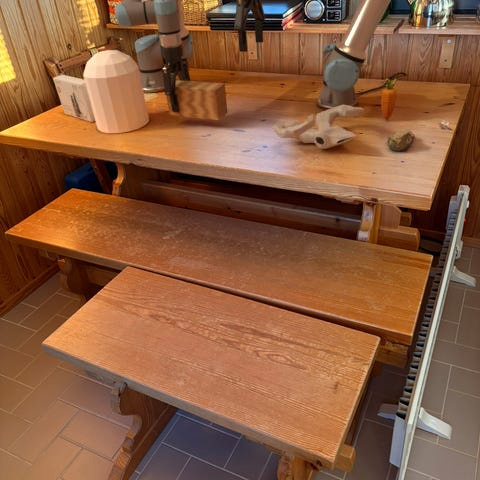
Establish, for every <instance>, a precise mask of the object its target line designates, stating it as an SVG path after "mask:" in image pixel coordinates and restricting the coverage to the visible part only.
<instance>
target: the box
mask: <svg viewBox="0 0 480 480" xmlns="http://www.w3.org/2000/svg"><path fill="white" fill-rule="evenodd" d="M175 95H177V100H178V106H179V112H172V106H171V103H170V97H169V95H165V96H166V102H167V108H168V114H169V116H177V117H184V118H185V117H186V118H193V119H203V120H204V119H205V120H212V121H213V120H214V121H219V120H222V118H223V117H225V116H226V115H227V114H228V104H227V103H228V102H227V93H226V84H225V83H224V82H223V83H222V82H208V81H194V80H191V81H181V80H179V79H176V86H175Z"/></svg>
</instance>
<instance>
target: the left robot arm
mask: <svg viewBox="0 0 480 480" xmlns="http://www.w3.org/2000/svg"><path fill="white" fill-rule="evenodd" d="M120 2H121V3H119V4H116V5H115V6H114V14H115V18H116V19H115V20H116V22H117V24H118V26H119V27H121V28H132V27H139V26H147V25H157V29H158V34H157V33H156V34H149V35H145V36H142V37H140V38H138V39H137V40H135V42H134V49H135V54H136V59H137V65H138V67H139V72H140V77H141V82H142V87H143V92H144V94H145V93H146V94H152V93H160V92H164V95H165V96H166V95H169V97H170V103H171V106H172V112H179V106H178V100H177V95H175V86H176V80H177V77H178V80H181V81H192V80H191V76H190V71H189V66H188V63H189V62H191V61H193V59H194V58H193V57H194V44H193V43H194V42H193V41H194V40H193V39H194V37H193V35H192V34H190V33H189V30H188V29H187V28H186V27H185V21H184V20H185V19H184V14H183V13H184V12H183V7H182V0H147V1H146V0H145V1H143V0H120Z"/></svg>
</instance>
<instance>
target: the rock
mask: <svg viewBox="0 0 480 480" xmlns="http://www.w3.org/2000/svg"><path fill="white" fill-rule="evenodd" d="M415 139H416V135H415V134H414V132H412V131H411V130H408V129H407V130H404V131H398V132H396V133H394V134H393V135H392V134H391V135H389V136H388V137H387V143H388V145H387V146H388V147H389V149H391V150H392V151H395V152H404V151H406V150H407V148H409V145H410V144H411V143H412V142H413V141H414V140H415Z"/></svg>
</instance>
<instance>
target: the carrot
mask: <svg viewBox="0 0 480 480" xmlns="http://www.w3.org/2000/svg"><path fill="white" fill-rule="evenodd" d="M397 81H398V78H395V79H394V80H393V82H391V78H390V79H388V78H385V83H387V84H386V86H385V87H386V88H384V89H382V91H381V100H380V101H381V102H380V104H381V112H382V113H381V114H382V117H383V119H384V120H385V121H386V122H388V121H389V119H390V118H391V117H392V114H393V112H394V109H395V106H396V101H397V96H398V95H397V94H398V91H397V89H395V88H394V86H395V85H396V83H397Z"/></svg>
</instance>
